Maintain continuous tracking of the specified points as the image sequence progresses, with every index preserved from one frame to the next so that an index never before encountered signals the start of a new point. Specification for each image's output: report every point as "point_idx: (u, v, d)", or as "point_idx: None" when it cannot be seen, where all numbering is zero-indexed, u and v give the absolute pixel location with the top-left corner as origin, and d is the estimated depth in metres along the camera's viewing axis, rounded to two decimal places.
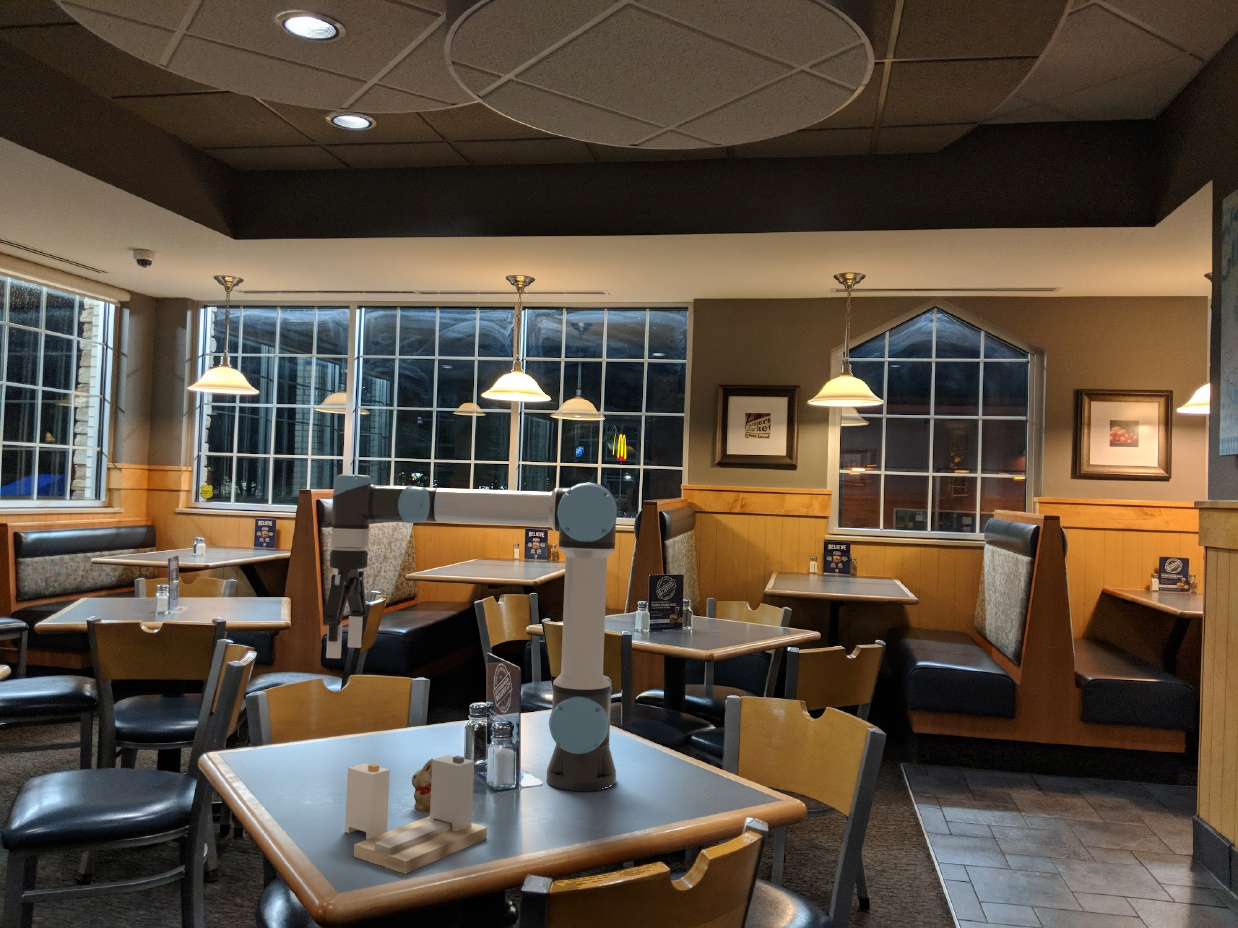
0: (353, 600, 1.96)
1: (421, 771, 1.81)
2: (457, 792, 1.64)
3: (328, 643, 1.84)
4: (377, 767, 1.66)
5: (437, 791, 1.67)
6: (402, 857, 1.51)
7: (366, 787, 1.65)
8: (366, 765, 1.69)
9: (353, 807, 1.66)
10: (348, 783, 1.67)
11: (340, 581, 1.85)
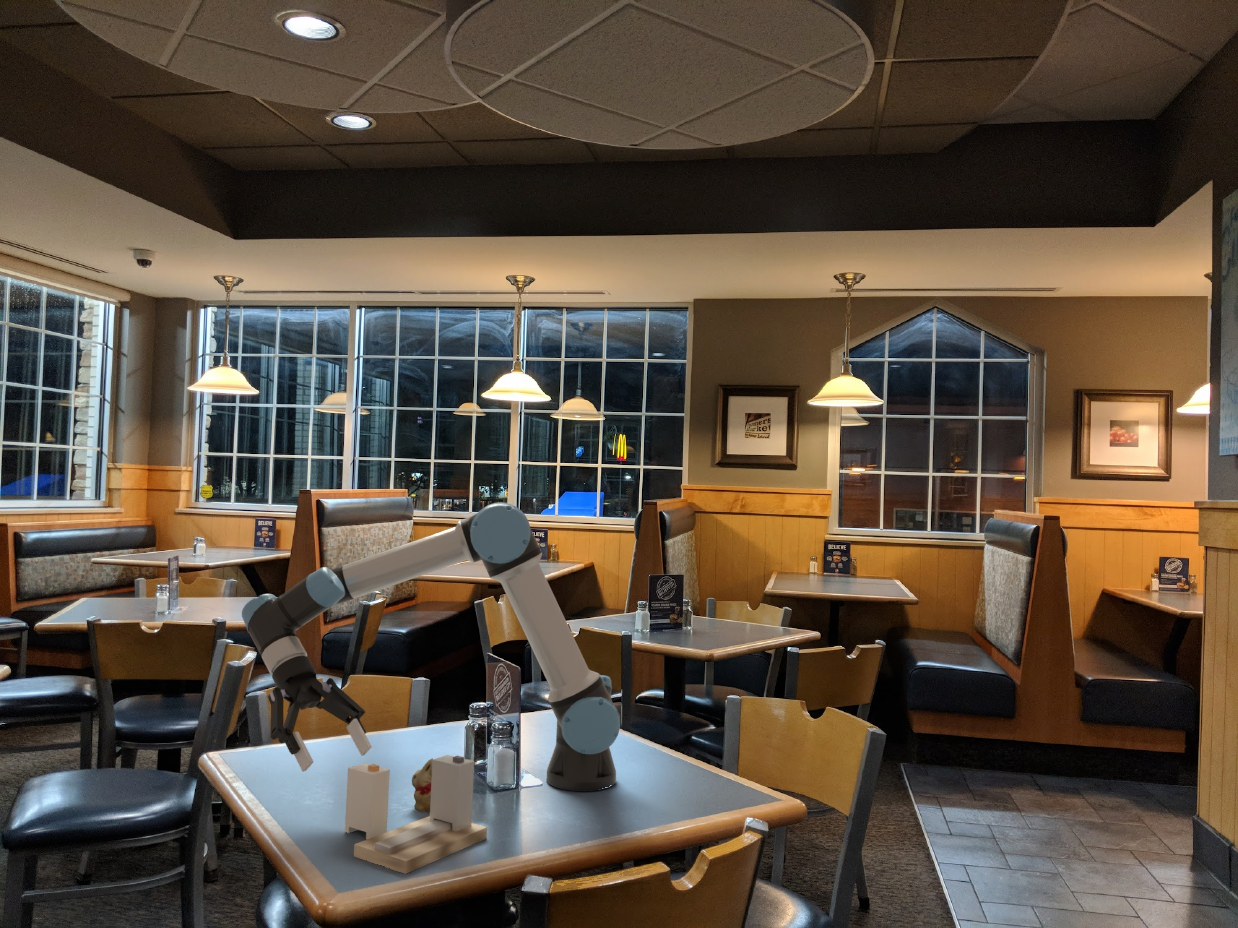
0: (333, 709, 1.79)
1: (421, 771, 1.81)
2: (457, 792, 1.64)
3: (297, 757, 1.66)
4: (377, 767, 1.66)
5: (437, 791, 1.67)
6: (402, 857, 1.51)
7: (366, 787, 1.65)
8: (366, 765, 1.69)
9: (353, 807, 1.66)
10: (348, 783, 1.67)
11: (274, 694, 1.71)
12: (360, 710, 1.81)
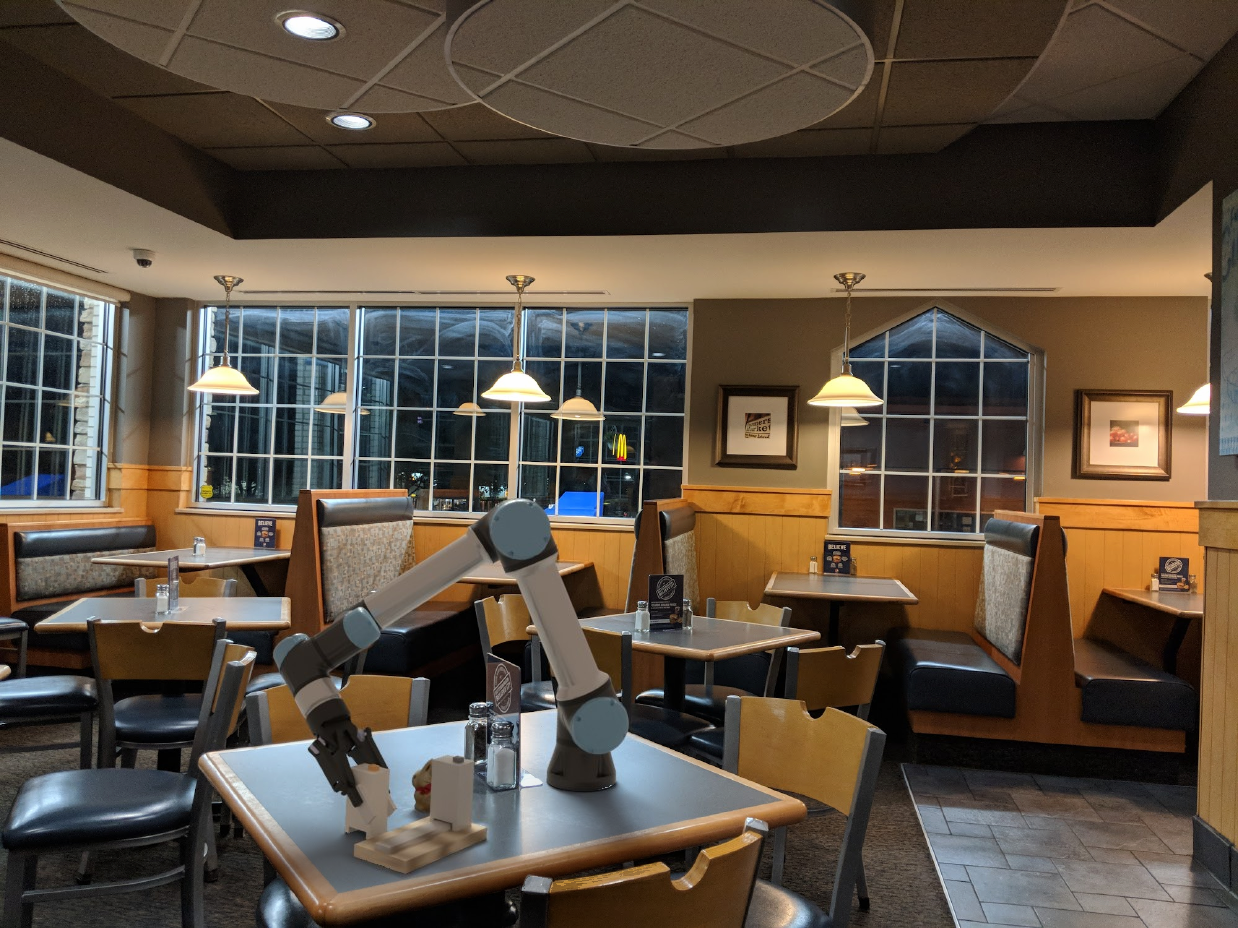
0: (360, 760, 1.71)
1: (421, 771, 1.81)
2: (457, 792, 1.64)
3: (359, 810, 1.64)
4: (377, 767, 1.66)
5: (437, 791, 1.67)
6: (402, 857, 1.51)
7: (366, 787, 1.65)
8: (366, 765, 1.69)
9: (353, 807, 1.66)
10: None
11: (317, 748, 1.66)
12: (384, 767, 1.72)
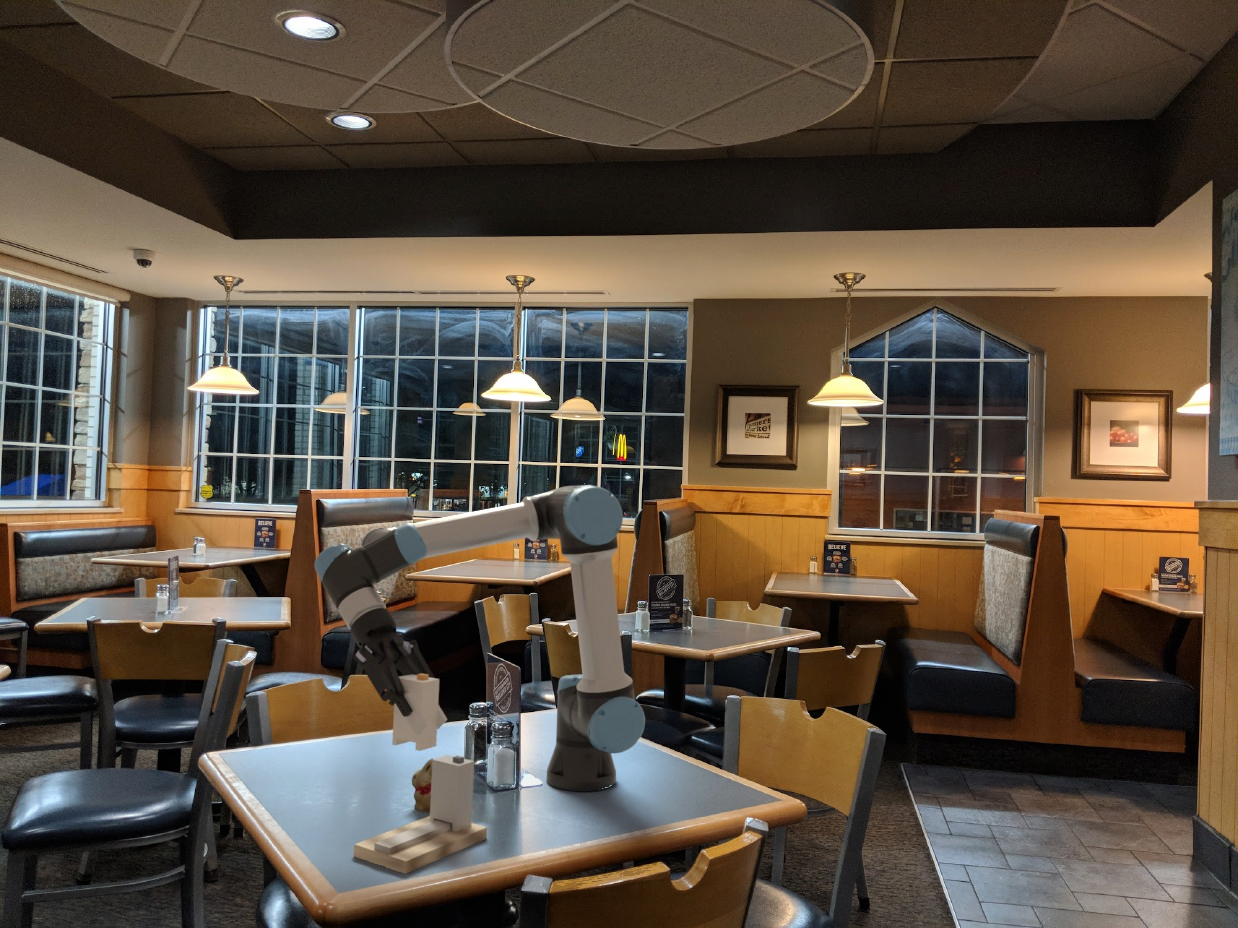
0: (407, 672, 1.64)
1: (421, 771, 1.81)
2: (457, 792, 1.64)
3: (409, 719, 1.57)
4: (426, 676, 1.59)
5: (437, 791, 1.67)
6: (402, 857, 1.51)
7: (415, 696, 1.57)
8: (414, 675, 1.62)
9: (401, 717, 1.58)
10: None
11: (363, 655, 1.58)
12: None
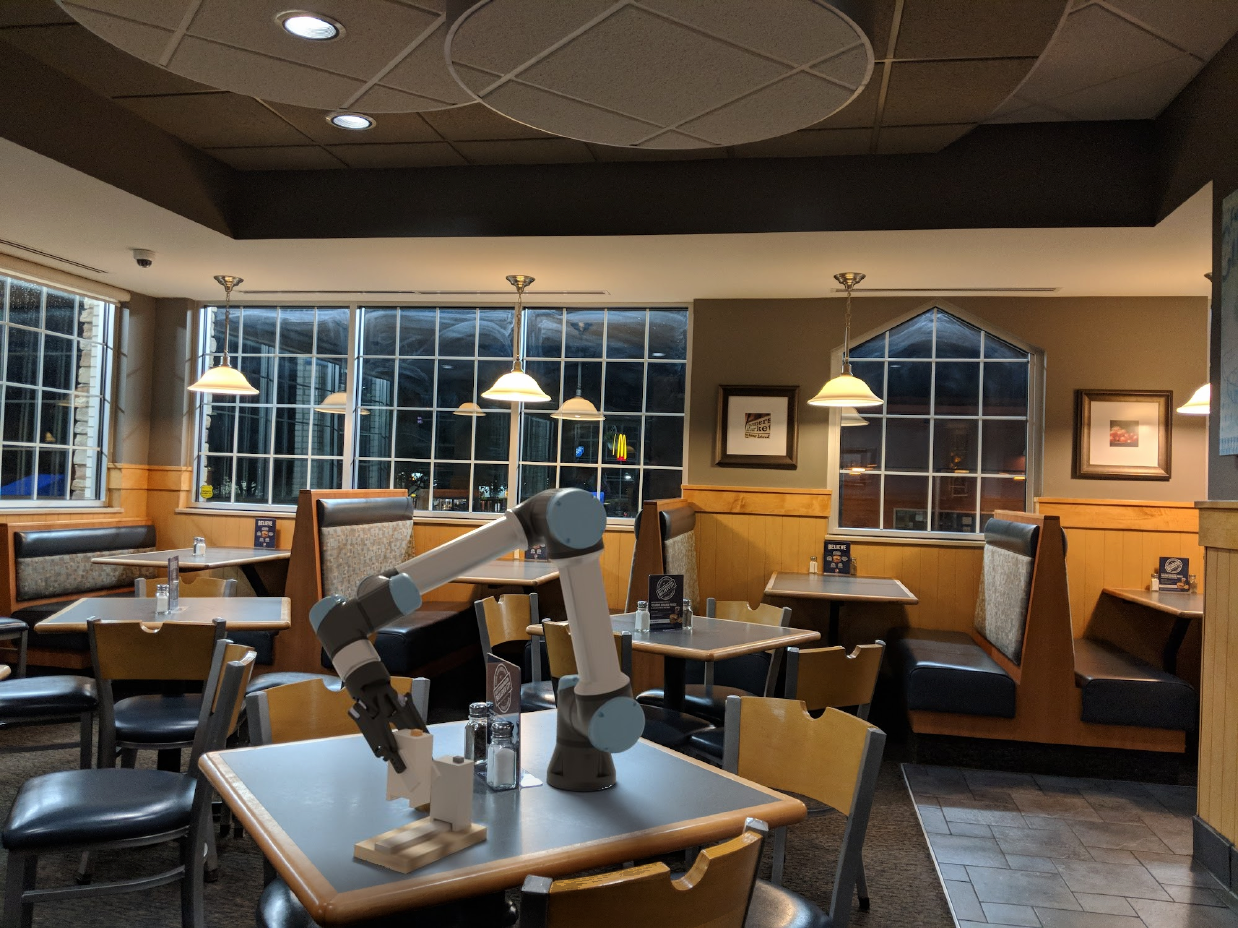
0: (401, 726, 1.63)
1: None
2: (457, 792, 1.64)
3: (402, 776, 1.56)
4: (420, 732, 1.58)
5: (437, 791, 1.67)
6: (402, 857, 1.51)
7: (409, 752, 1.56)
8: (408, 730, 1.61)
9: (395, 774, 1.58)
10: None
11: (357, 711, 1.58)
12: None
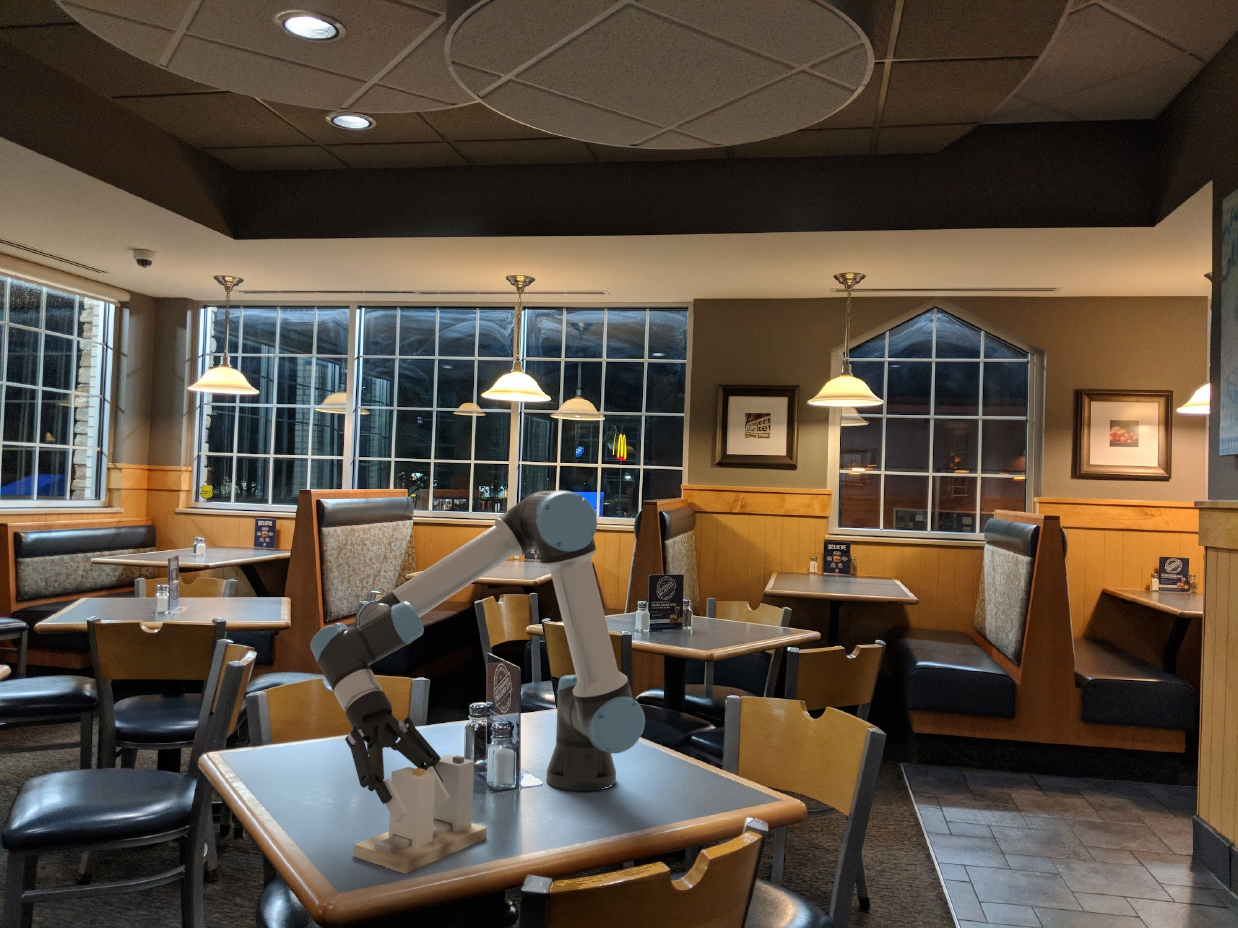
0: (408, 752, 1.64)
1: None
2: (457, 792, 1.64)
3: (388, 806, 1.54)
4: (422, 771, 1.58)
5: None
6: (402, 857, 1.51)
7: (412, 792, 1.56)
8: (410, 769, 1.61)
9: None
10: None
11: (353, 737, 1.57)
12: (435, 756, 1.66)
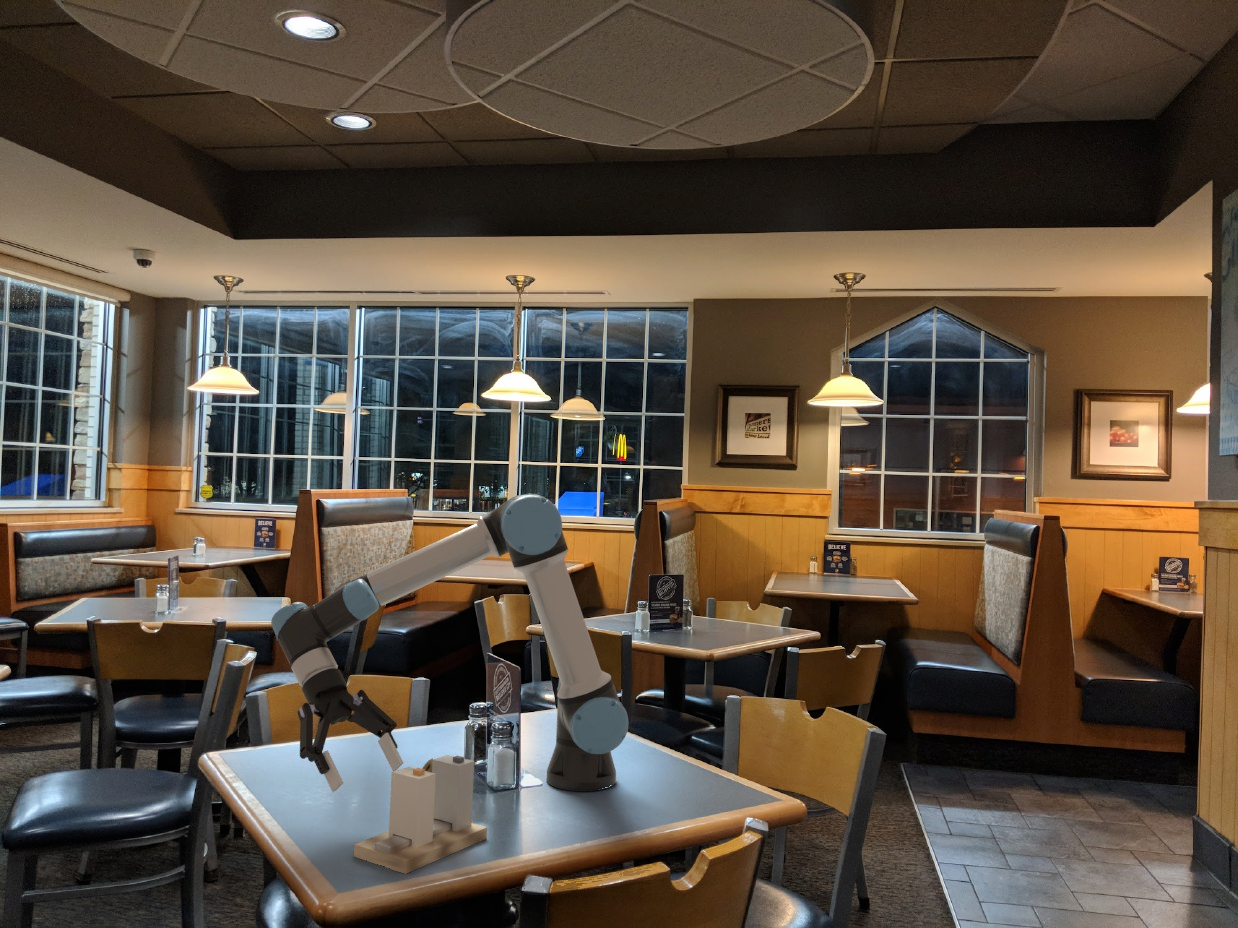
0: (364, 723, 1.74)
1: None
2: (457, 792, 1.64)
3: (326, 776, 1.62)
4: (422, 771, 1.58)
5: (437, 791, 1.67)
6: (402, 857, 1.51)
7: (412, 792, 1.56)
8: (410, 769, 1.61)
9: (397, 813, 1.58)
10: (392, 788, 1.59)
11: (303, 711, 1.67)
12: (392, 723, 1.77)
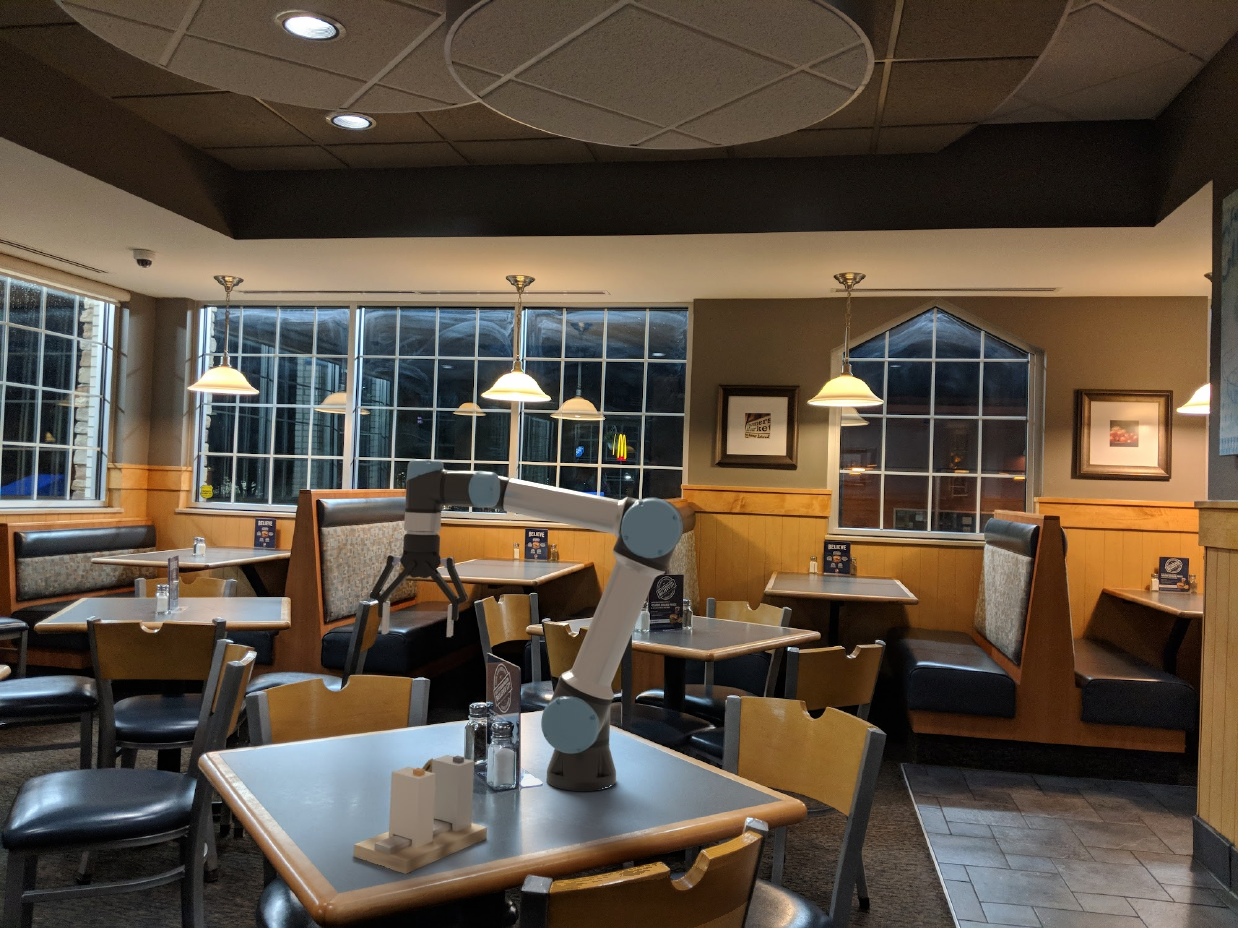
0: None
1: None
2: (457, 792, 1.64)
3: None
4: (422, 771, 1.58)
5: (437, 791, 1.67)
6: (402, 857, 1.51)
7: (412, 792, 1.56)
8: (410, 769, 1.61)
9: (397, 813, 1.58)
10: (392, 788, 1.59)
11: None
12: (461, 598, 1.94)
